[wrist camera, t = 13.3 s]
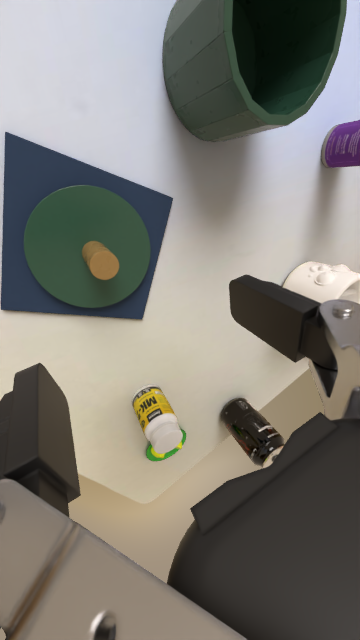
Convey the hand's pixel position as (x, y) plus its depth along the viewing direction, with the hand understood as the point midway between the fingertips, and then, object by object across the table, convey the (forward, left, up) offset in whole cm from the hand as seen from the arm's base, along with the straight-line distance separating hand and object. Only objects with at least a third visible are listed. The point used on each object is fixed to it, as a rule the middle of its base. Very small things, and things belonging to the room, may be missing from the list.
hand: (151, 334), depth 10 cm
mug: (+35, +2, -18) cm, 39 cm away
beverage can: (+32, -26, -18) cm, 45 cm away
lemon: (+18, -32, -18) cm, 41 cm away
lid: (0, 0, -16) cm, 16 cm away
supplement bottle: (+11, -20, -18) cm, 29 cm away
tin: (+8, +18, -17) cm, 26 cm away
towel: (0, 0, -17) cm, 17 cm away
